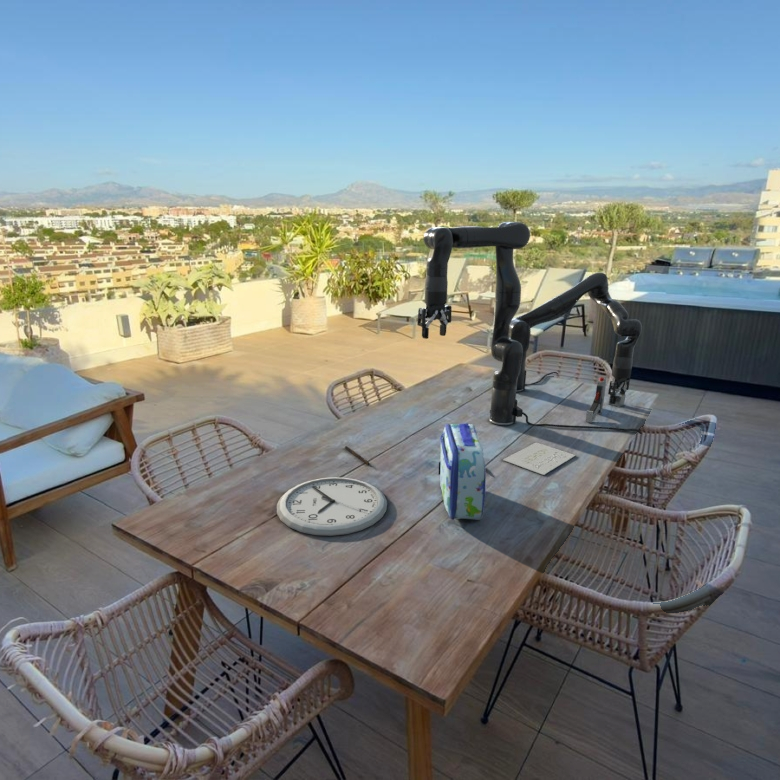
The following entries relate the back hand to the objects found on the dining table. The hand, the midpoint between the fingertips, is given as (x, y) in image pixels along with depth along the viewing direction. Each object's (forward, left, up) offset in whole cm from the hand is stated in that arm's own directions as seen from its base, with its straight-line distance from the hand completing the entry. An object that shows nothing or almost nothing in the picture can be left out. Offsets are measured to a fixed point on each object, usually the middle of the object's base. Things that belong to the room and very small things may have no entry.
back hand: (616, 401), depth 229 cm
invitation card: (+68, +34, -1) cm, 76 cm away
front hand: (+94, +3, +36) cm, 100 cm away
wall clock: (+141, +38, -1) cm, 146 cm away
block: (0, 0, -1) cm, 1 cm away
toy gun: (+22, +10, -1) cm, 24 cm away
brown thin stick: (+125, +11, -1) cm, 125 cm away
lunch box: (+108, +49, -1) cm, 119 cm away
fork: (+90, +30, -1) cm, 95 cm away
